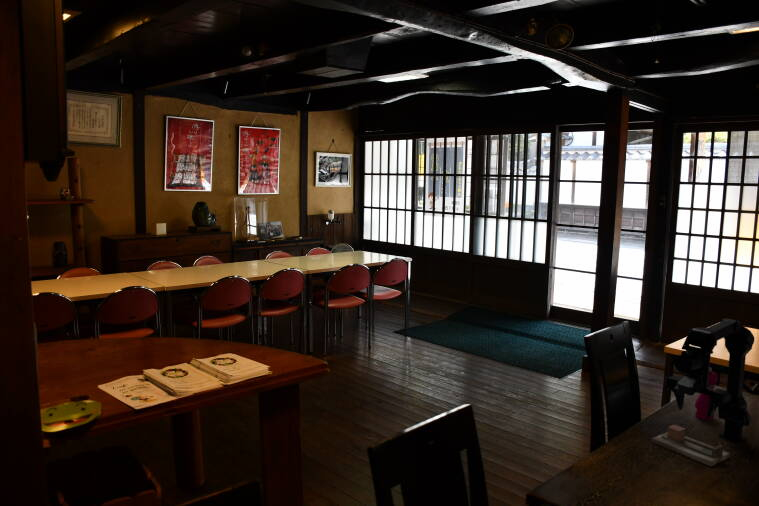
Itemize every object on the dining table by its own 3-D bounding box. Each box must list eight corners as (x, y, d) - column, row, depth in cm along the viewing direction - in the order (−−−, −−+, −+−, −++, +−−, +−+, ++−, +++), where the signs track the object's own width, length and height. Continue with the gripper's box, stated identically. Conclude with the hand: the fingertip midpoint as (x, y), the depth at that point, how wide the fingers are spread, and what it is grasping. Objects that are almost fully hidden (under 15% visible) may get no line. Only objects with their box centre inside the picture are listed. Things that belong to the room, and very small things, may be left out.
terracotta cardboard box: (673, 435, 206) (674, 424, 205) (684, 439, 202) (685, 428, 202) (666, 437, 203) (668, 426, 203) (678, 442, 200) (679, 431, 200)
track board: (670, 434, 211) (672, 422, 210) (729, 457, 194) (730, 444, 194) (651, 442, 204) (652, 429, 203) (710, 466, 187) (712, 453, 187)
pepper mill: (717, 422, 223) (723, 371, 220) (697, 419, 224) (702, 369, 222) (711, 414, 230) (716, 365, 228) (691, 412, 231) (696, 363, 229)
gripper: (657, 363, 193) (653, 409, 195) (716, 380, 178) (710, 430, 180) (676, 358, 199) (671, 403, 201) (734, 374, 184) (729, 422, 186)
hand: (694, 414), depth 192 cm, fingers open, 9 cm apart
